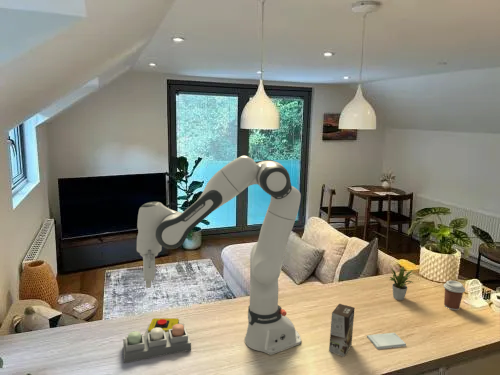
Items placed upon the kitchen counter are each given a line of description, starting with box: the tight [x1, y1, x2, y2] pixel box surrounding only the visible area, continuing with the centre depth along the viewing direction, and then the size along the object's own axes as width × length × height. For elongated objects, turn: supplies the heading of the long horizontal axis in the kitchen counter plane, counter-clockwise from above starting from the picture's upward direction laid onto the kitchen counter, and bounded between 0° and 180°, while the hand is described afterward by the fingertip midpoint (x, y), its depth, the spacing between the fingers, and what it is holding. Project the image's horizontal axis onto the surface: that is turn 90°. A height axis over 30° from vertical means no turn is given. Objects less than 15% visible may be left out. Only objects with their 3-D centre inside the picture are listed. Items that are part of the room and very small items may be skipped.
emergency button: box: [143, 317, 185, 336], centre depth 151 cm, size 9×4×15 cm
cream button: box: [151, 328, 163, 341], centre depth 139 cm, size 4×4×3 cm
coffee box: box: [328, 303, 355, 357], centre depth 141 cm, size 9×6×16 cm
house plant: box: [389, 266, 415, 301], centre depth 182 cm, size 14×14×16 cm
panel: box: [122, 326, 192, 364], centre depth 139 cm, size 24×10×5 cm, turn 110°
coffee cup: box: [442, 280, 466, 311], centre depth 175 cm, size 9×9×12 cm
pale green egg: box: [127, 330, 142, 345], centre depth 136 cm, size 4×4×3 cm
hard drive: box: [366, 332, 407, 350], centre depth 147 cm, size 2×8×12 cm
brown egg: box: [172, 323, 185, 337], centre depth 141 cm, size 4×4×3 cm
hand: (147, 281), depth 136 cm, fingers open, 8 cm apart
